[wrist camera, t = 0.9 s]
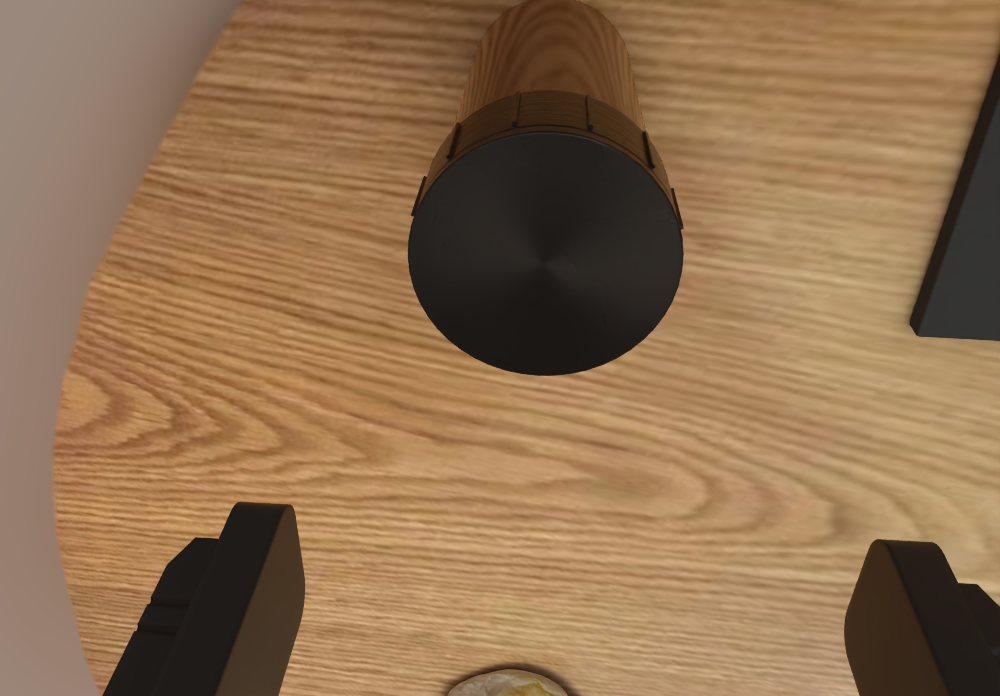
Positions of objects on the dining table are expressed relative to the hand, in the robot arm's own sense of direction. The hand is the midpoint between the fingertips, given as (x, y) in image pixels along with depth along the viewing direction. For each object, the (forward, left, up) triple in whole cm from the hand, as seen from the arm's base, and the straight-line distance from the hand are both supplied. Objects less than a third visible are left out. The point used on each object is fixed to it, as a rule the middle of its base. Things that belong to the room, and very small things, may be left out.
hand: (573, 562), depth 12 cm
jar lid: (0, -1, -12) cm, 12 cm away
